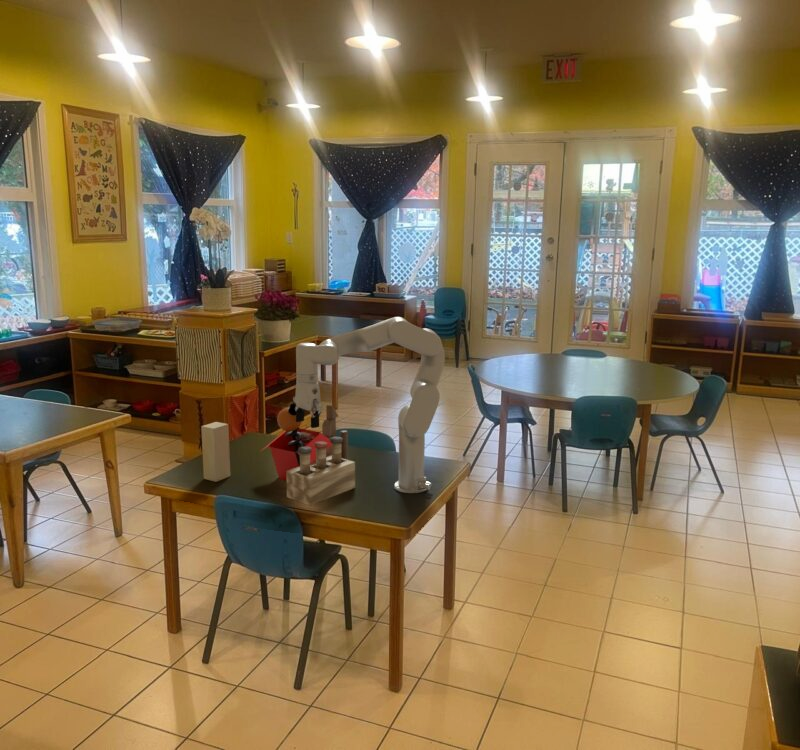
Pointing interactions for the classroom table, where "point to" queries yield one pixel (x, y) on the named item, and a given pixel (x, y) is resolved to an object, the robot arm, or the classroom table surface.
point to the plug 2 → (336, 449)
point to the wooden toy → (334, 432)
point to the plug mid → (320, 455)
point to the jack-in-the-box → (293, 442)
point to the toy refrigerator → (216, 451)
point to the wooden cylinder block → (320, 481)
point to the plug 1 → (304, 460)
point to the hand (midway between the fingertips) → (307, 424)
